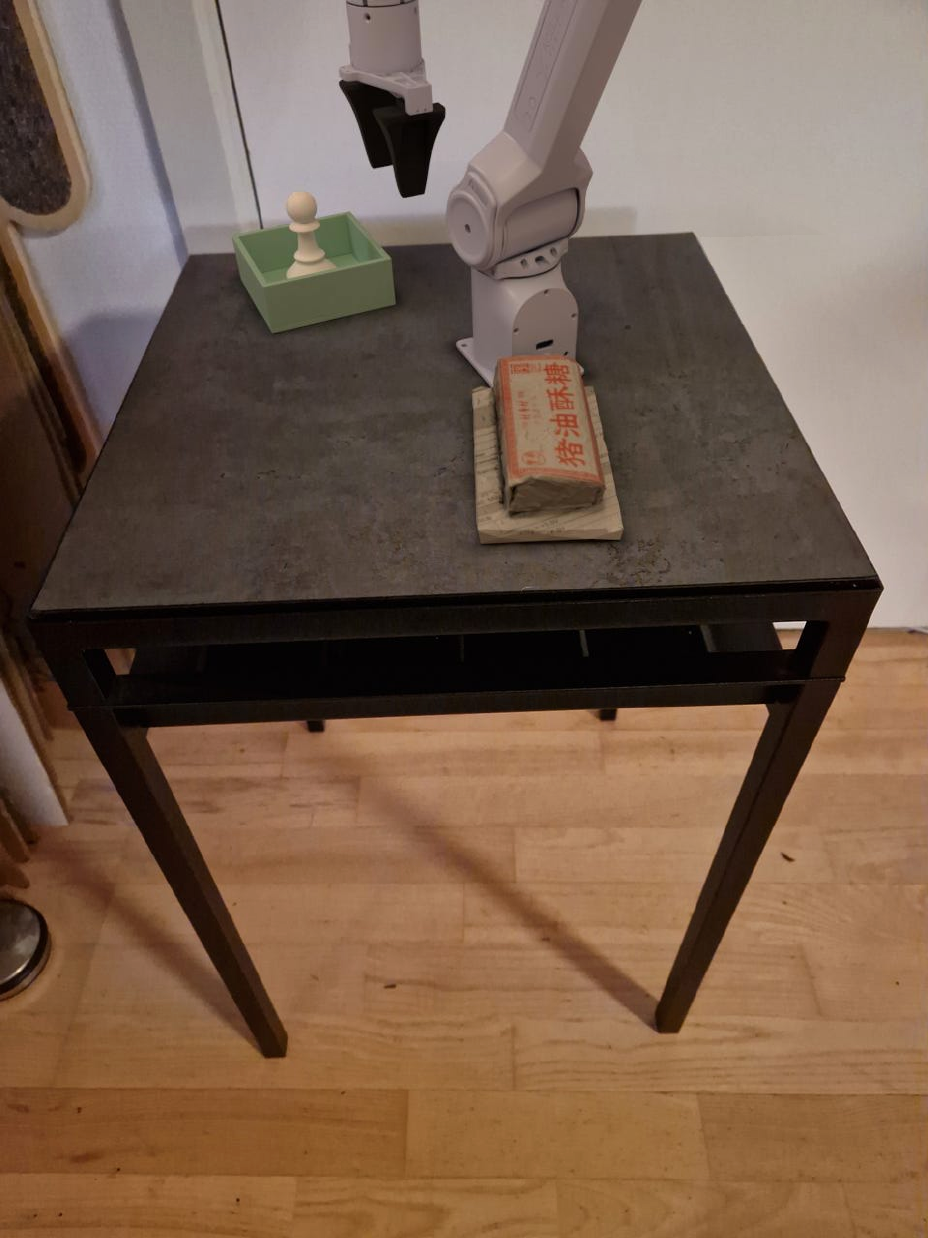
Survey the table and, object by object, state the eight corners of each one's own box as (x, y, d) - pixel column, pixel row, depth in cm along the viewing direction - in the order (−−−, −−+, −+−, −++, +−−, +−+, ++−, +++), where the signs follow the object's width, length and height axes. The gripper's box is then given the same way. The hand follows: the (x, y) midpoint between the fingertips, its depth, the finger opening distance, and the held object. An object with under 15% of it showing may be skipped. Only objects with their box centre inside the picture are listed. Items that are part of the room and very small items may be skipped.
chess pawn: (282, 298, 86) (263, 201, 80) (297, 274, 89) (281, 180, 83) (332, 300, 85) (318, 203, 79) (346, 276, 89) (333, 182, 82)
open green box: (395, 304, 85) (391, 258, 82) (272, 333, 82) (262, 286, 79) (355, 254, 93) (349, 210, 90) (240, 279, 90) (230, 234, 87)
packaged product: (469, 349, 70) (597, 344, 70) (471, 402, 73) (592, 398, 73) (475, 492, 57) (630, 487, 57) (477, 548, 61) (623, 544, 61)
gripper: (306, -14, 74) (330, 161, 83) (363, 26, 64) (382, 218, 74) (386, -25, 75) (400, 148, 85) (454, 12, 66) (460, 201, 76)
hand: (397, 179), depth 80 cm, fingers open, 7 cm apart
